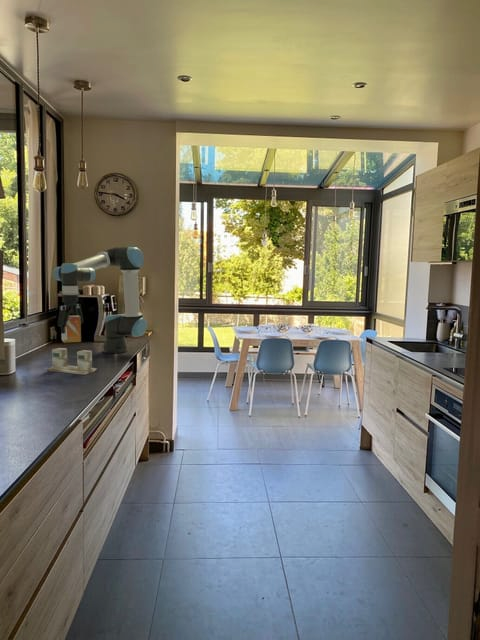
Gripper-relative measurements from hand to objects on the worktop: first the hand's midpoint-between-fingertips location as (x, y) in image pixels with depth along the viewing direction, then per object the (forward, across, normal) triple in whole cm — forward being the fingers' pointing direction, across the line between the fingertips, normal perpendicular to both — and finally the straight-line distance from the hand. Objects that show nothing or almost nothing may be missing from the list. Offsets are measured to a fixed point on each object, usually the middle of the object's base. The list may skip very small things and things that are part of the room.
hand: (71, 338), depth 223 cm
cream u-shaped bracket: (+17, 0, 0) cm, 17 cm away
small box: (+2, 0, 0) cm, 2 cm away
